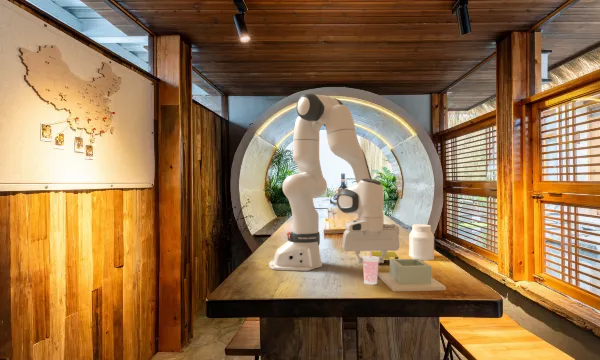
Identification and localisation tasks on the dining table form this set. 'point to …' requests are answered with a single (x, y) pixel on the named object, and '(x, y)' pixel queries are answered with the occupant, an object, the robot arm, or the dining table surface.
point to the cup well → (410, 276)
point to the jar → (421, 242)
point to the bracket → (389, 254)
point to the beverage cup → (370, 269)
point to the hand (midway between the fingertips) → (370, 262)
